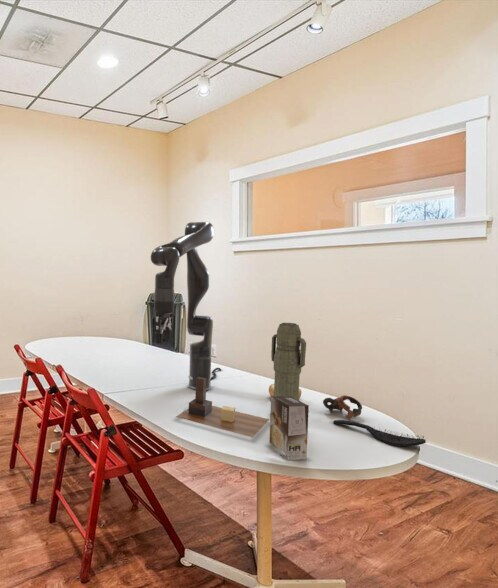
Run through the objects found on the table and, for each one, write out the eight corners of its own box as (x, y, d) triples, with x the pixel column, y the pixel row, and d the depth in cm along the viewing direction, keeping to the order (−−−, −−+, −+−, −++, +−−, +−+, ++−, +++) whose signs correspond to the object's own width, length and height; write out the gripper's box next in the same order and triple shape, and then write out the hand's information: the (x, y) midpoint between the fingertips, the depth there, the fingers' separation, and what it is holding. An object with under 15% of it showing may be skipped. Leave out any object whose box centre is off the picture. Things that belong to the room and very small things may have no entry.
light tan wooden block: (222, 416, 144) (223, 405, 144) (234, 418, 142) (235, 407, 142) (220, 420, 141) (221, 409, 141) (233, 422, 139) (233, 411, 139)
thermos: (296, 425, 140) (301, 326, 138) (263, 415, 150) (266, 322, 147) (308, 419, 145) (312, 324, 143) (275, 410, 155) (278, 320, 152)
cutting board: (197, 406, 159) (197, 402, 159) (269, 423, 142) (269, 419, 142) (175, 420, 144) (175, 416, 144) (252, 441, 127) (252, 437, 127)
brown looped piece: (348, 411, 155) (360, 397, 150) (356, 430, 147) (368, 415, 142) (315, 401, 157) (326, 387, 152) (321, 419, 149) (333, 405, 145)
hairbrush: (339, 412, 144) (430, 434, 123) (339, 422, 145) (430, 446, 123) (327, 417, 140) (419, 440, 119) (327, 427, 140) (419, 453, 119)
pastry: (270, 393, 175) (271, 373, 175) (302, 398, 169) (303, 377, 168) (266, 400, 166) (267, 379, 165) (299, 406, 159) (300, 384, 158)
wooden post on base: (196, 407, 153) (197, 374, 152) (211, 411, 149) (212, 377, 148) (188, 413, 148) (189, 378, 147) (204, 417, 144) (205, 381, 143)
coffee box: (308, 459, 115) (310, 405, 114) (287, 460, 115) (289, 406, 114) (287, 445, 124) (289, 395, 123) (267, 446, 124) (269, 395, 123)
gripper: (166, 301, 145) (166, 345, 146) (180, 298, 156) (179, 339, 157) (147, 300, 149) (146, 343, 150) (161, 297, 160) (160, 337, 162)
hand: (163, 341), depth 154 cm, fingers open, 8 cm apart
